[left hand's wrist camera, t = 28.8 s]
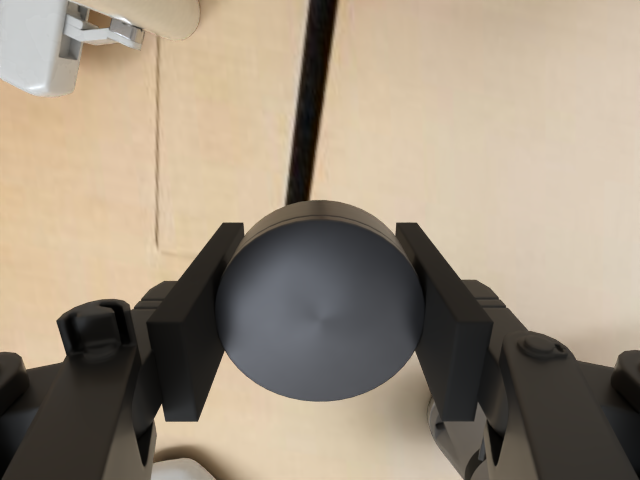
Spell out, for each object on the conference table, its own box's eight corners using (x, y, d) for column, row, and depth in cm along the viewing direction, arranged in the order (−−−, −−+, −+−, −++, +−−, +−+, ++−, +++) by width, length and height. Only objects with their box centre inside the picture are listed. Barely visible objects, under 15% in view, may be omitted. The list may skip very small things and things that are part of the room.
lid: (447, 278, 12) (470, 310, 10) (328, 387, 13) (329, 431, 11) (308, 158, 10) (306, 171, 9) (194, 295, 12) (172, 329, 10)
